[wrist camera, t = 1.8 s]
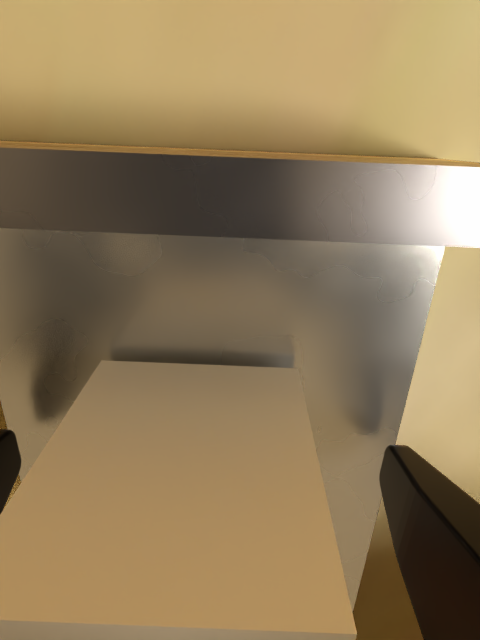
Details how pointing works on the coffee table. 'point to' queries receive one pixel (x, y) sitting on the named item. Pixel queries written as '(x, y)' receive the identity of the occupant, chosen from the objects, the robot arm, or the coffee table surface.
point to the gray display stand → (229, 285)
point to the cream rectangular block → (175, 514)
